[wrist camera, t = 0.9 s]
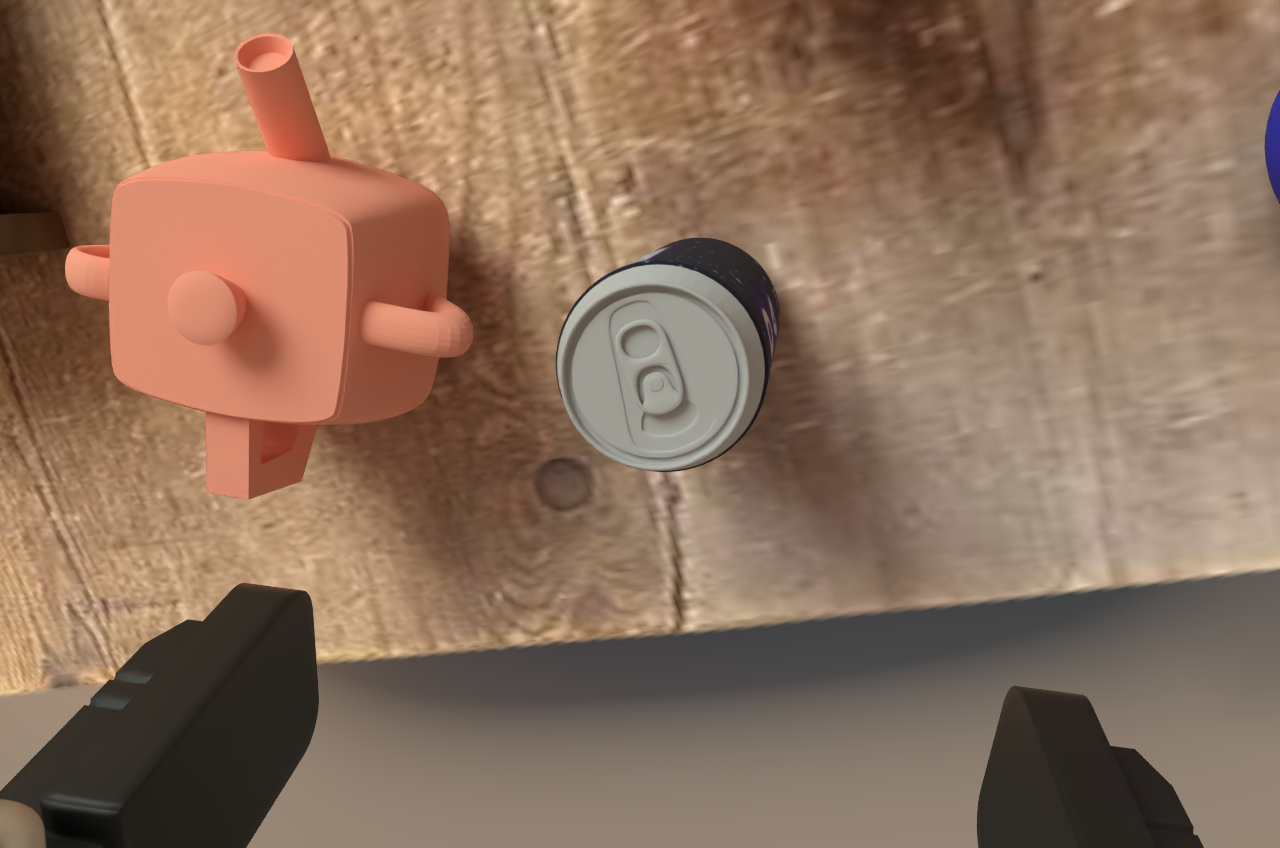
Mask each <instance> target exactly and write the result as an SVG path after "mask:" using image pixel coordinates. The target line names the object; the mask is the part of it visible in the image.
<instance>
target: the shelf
mask: <svg viewBox="0 0 1280 848" xmlns="http://www.w3.org/2000/svg"><path fill="white" fill-rule="evenodd" d="M68 248H69V244H68V241H67V238H66V234H65V231H64V228H63V225H62V221H61V218H60V215H59V213H58V212H56V211H54V212H34V213H13V214H0V264H1V263H6V262H10V261H15V260H19V259H24V258H29V257H33V256H38V255H42V254H47V253H51V252H56V251H60V250H65V249H68Z"/></svg>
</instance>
